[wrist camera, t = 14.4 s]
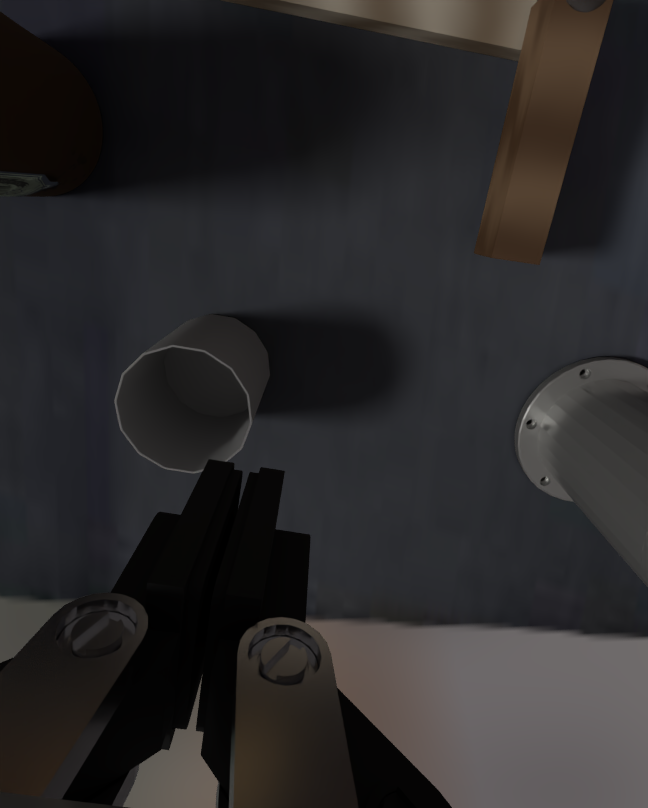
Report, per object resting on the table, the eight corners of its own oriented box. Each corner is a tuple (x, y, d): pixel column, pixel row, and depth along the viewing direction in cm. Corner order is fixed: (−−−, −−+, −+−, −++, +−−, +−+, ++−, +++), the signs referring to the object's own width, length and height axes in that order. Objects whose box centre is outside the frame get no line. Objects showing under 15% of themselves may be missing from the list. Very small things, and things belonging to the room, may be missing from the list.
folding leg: (537, -20, 29) (568, -55, 25) (587, -12, 29) (625, -45, 25) (473, 253, 34) (491, 257, 31) (516, 259, 35) (539, 264, 31)
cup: (273, 413, 42) (257, 470, 32) (174, 418, 42) (130, 476, 32) (263, 311, 39) (242, 341, 29) (157, 316, 39) (102, 348, 29)
